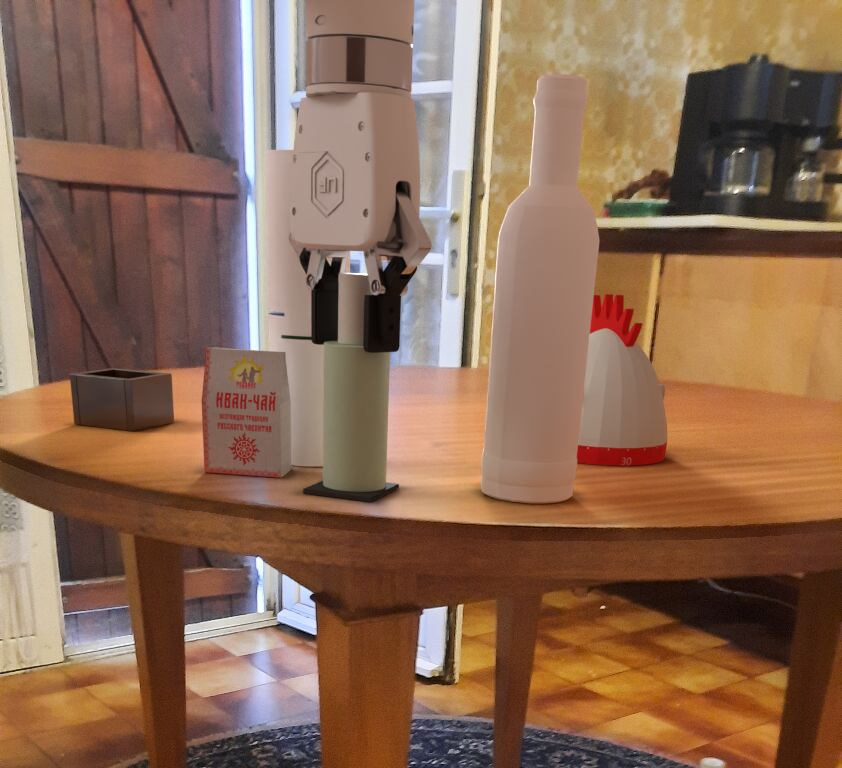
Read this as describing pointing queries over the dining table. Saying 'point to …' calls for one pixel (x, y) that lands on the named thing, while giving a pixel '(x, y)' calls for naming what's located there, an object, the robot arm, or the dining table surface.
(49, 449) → the dining table surface
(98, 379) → the box
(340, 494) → the coaster
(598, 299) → the kitchen timer
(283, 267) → the cylindrical container
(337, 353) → the bottle
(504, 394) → the bottle
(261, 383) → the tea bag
